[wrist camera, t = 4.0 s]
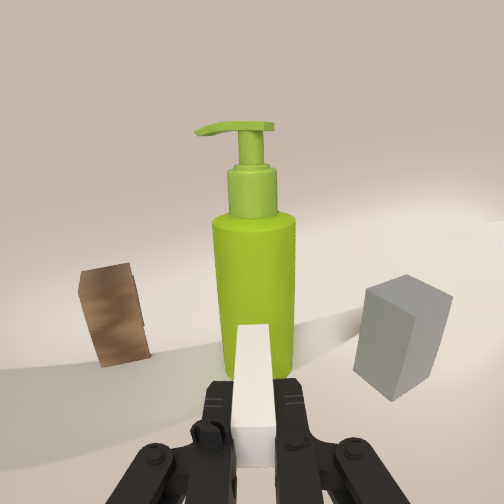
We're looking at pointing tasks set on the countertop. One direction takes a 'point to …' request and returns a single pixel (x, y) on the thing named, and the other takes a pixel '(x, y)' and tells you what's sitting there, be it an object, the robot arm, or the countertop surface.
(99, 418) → the countertop surface
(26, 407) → the countertop surface
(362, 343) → the grey rectangular block
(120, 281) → the brown wooden block
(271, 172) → the soap dispenser
